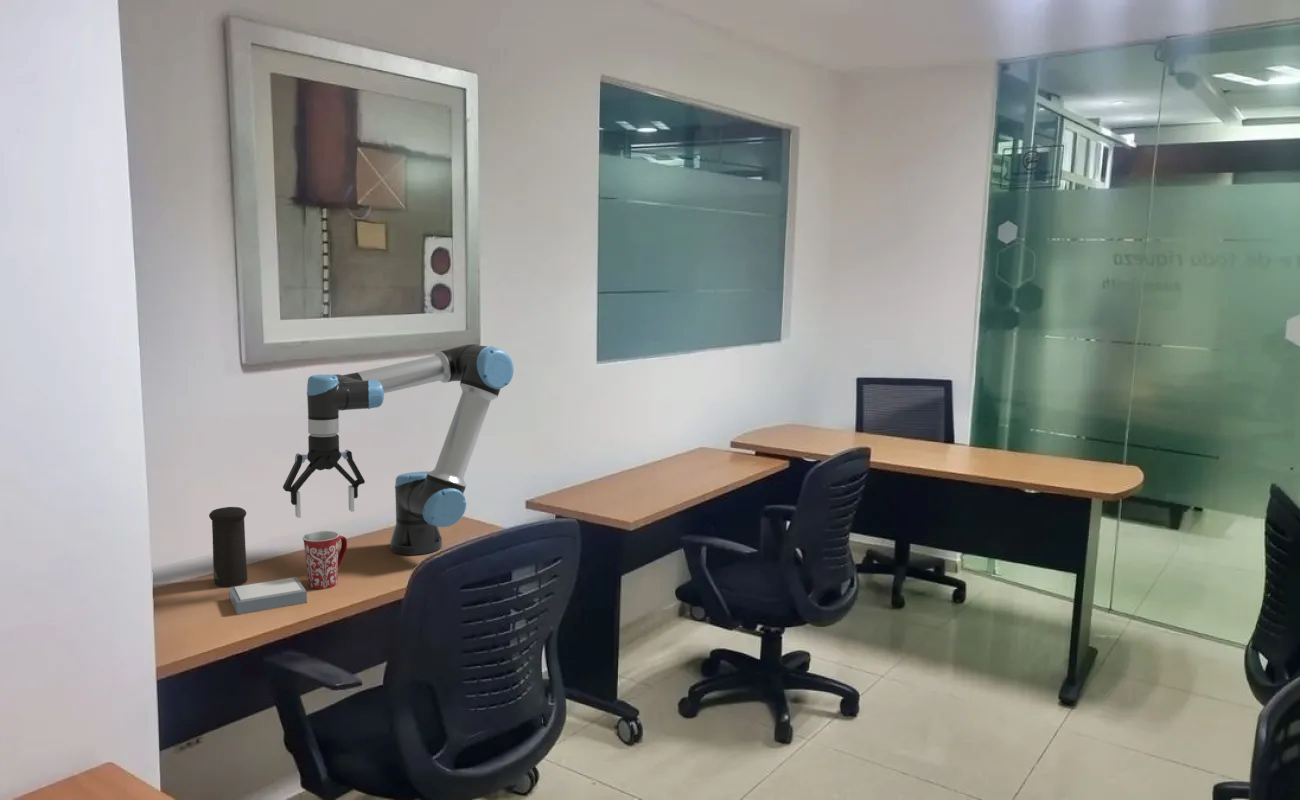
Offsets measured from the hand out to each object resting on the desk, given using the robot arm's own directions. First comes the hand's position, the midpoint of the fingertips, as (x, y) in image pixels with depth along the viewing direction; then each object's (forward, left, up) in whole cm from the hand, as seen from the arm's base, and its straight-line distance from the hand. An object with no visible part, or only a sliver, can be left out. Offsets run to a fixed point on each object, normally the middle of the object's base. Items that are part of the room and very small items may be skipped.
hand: (325, 513), depth 234 cm
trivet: (+16, +6, -19) cm, 25 cm away
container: (+22, -13, -19) cm, 32 cm away
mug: (0, 0, -19) cm, 19 cm away
